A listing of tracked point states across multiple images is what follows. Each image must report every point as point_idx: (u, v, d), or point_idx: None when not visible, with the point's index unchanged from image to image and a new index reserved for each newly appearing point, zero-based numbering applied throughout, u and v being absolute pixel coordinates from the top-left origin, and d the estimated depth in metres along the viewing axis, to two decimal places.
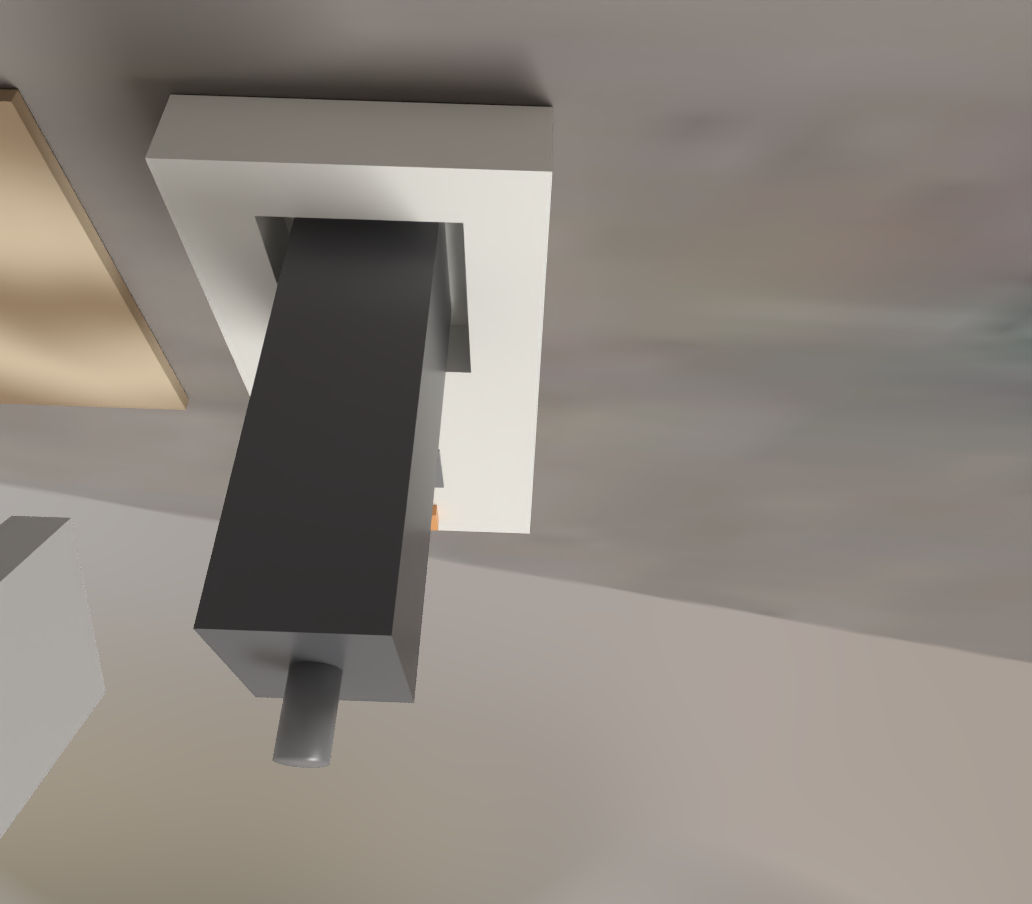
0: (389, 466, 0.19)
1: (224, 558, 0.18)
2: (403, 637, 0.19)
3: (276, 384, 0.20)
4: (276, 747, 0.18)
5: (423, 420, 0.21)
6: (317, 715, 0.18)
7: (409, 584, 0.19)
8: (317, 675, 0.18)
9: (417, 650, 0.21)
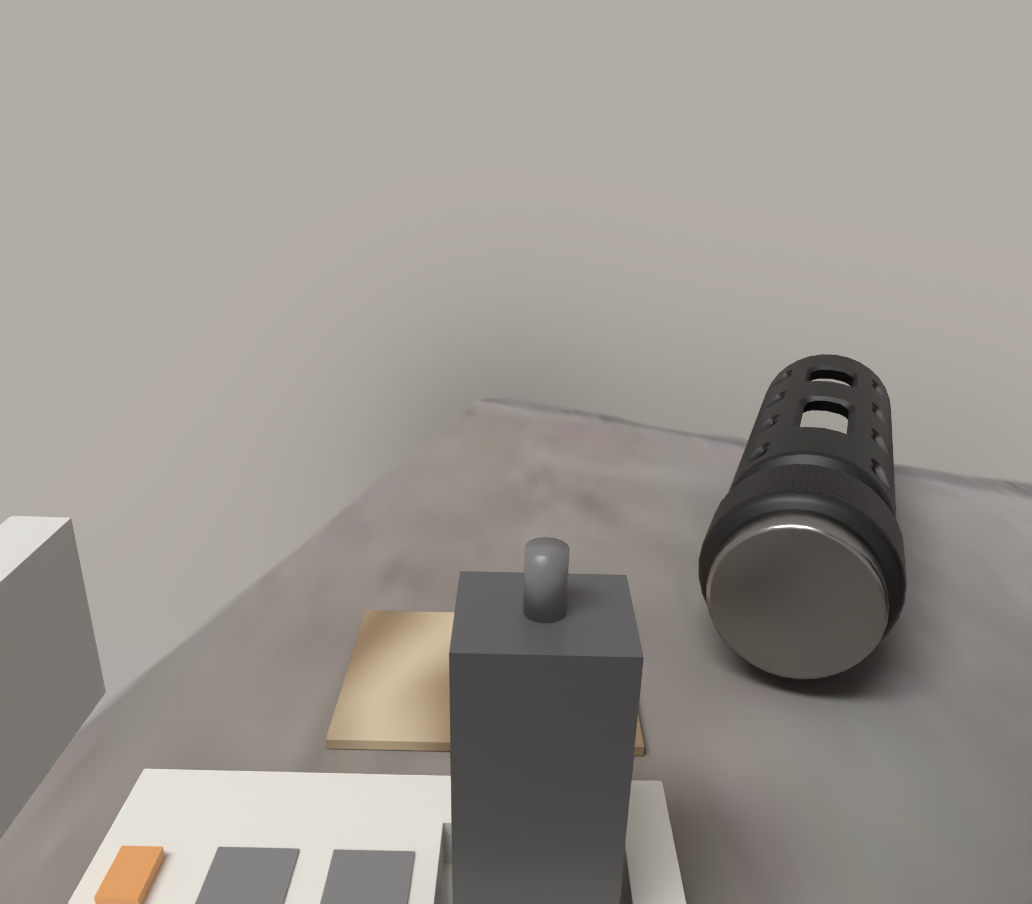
0: None
1: None
2: (574, 674, 0.22)
3: None
4: None
5: (584, 829, 0.24)
6: (565, 582, 0.23)
7: (567, 713, 0.22)
8: (565, 606, 0.23)
9: (463, 691, 0.22)
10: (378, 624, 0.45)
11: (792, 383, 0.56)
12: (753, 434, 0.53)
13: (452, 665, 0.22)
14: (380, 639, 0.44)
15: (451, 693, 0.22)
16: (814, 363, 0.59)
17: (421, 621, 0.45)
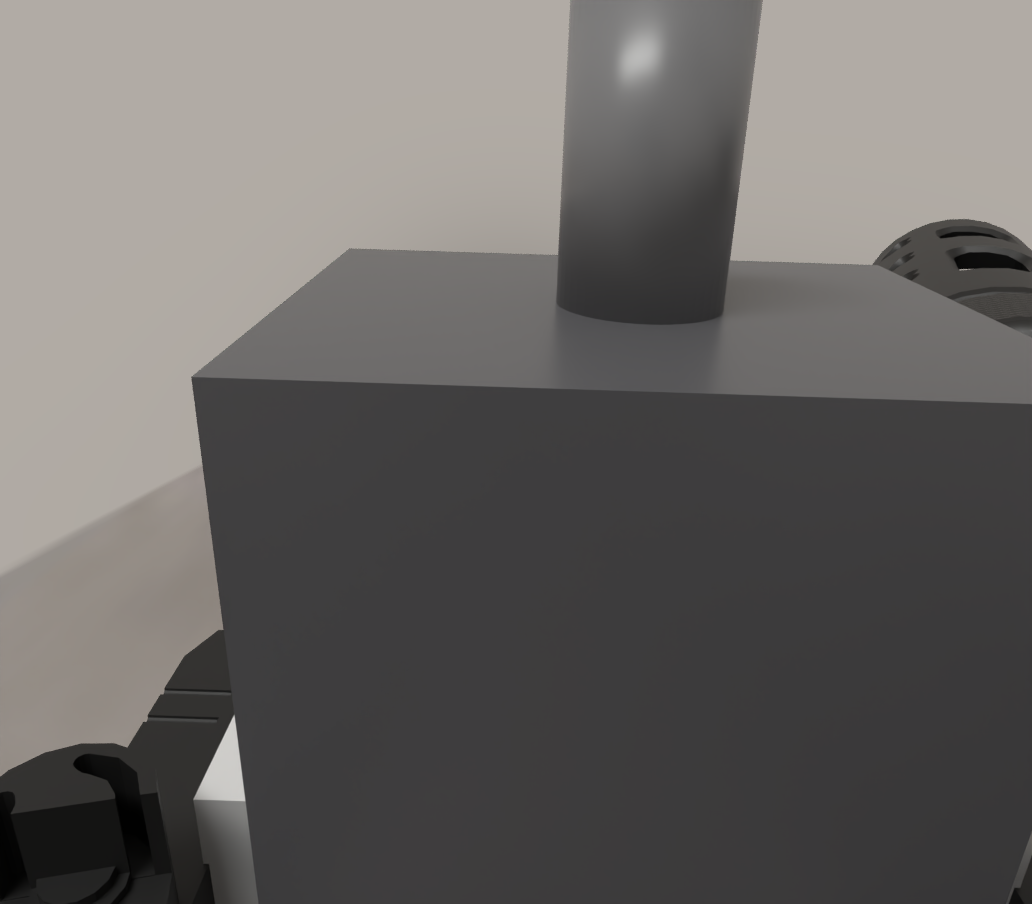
0: None
1: None
2: (817, 500, 0.04)
3: None
4: None
5: None
6: (740, 141, 0.05)
7: (758, 698, 0.05)
8: (727, 269, 0.06)
9: (283, 589, 0.05)
10: None
11: (919, 244, 0.39)
12: None
13: (216, 449, 0.04)
14: None
15: (228, 596, 0.05)
16: (942, 226, 0.42)
17: None
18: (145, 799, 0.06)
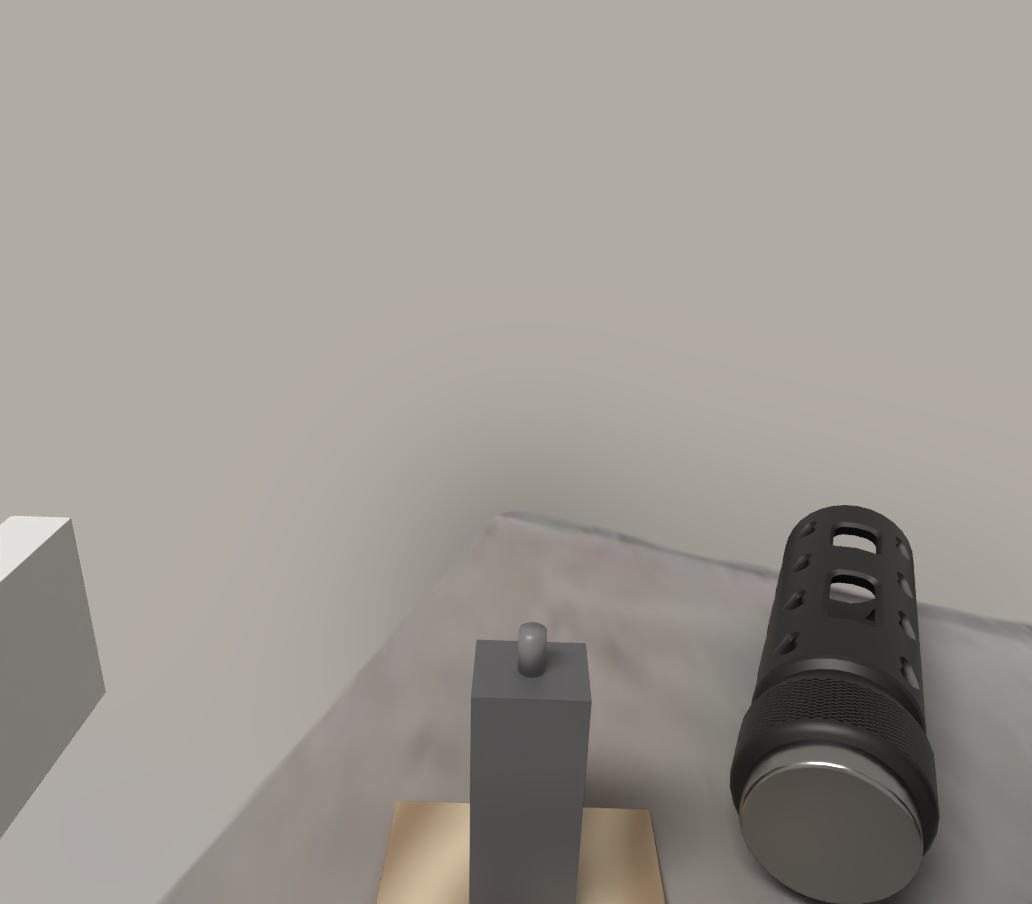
0: None
1: None
2: (548, 710, 0.35)
3: None
4: None
5: (555, 809, 0.37)
6: (544, 651, 0.36)
7: (544, 735, 0.35)
8: (544, 666, 0.36)
9: (479, 721, 0.35)
10: (409, 820, 0.45)
11: (817, 544, 0.57)
12: (779, 606, 0.53)
13: (473, 704, 0.35)
14: (411, 839, 0.44)
15: (471, 722, 0.35)
16: (838, 518, 0.59)
17: (451, 816, 0.45)
18: None
